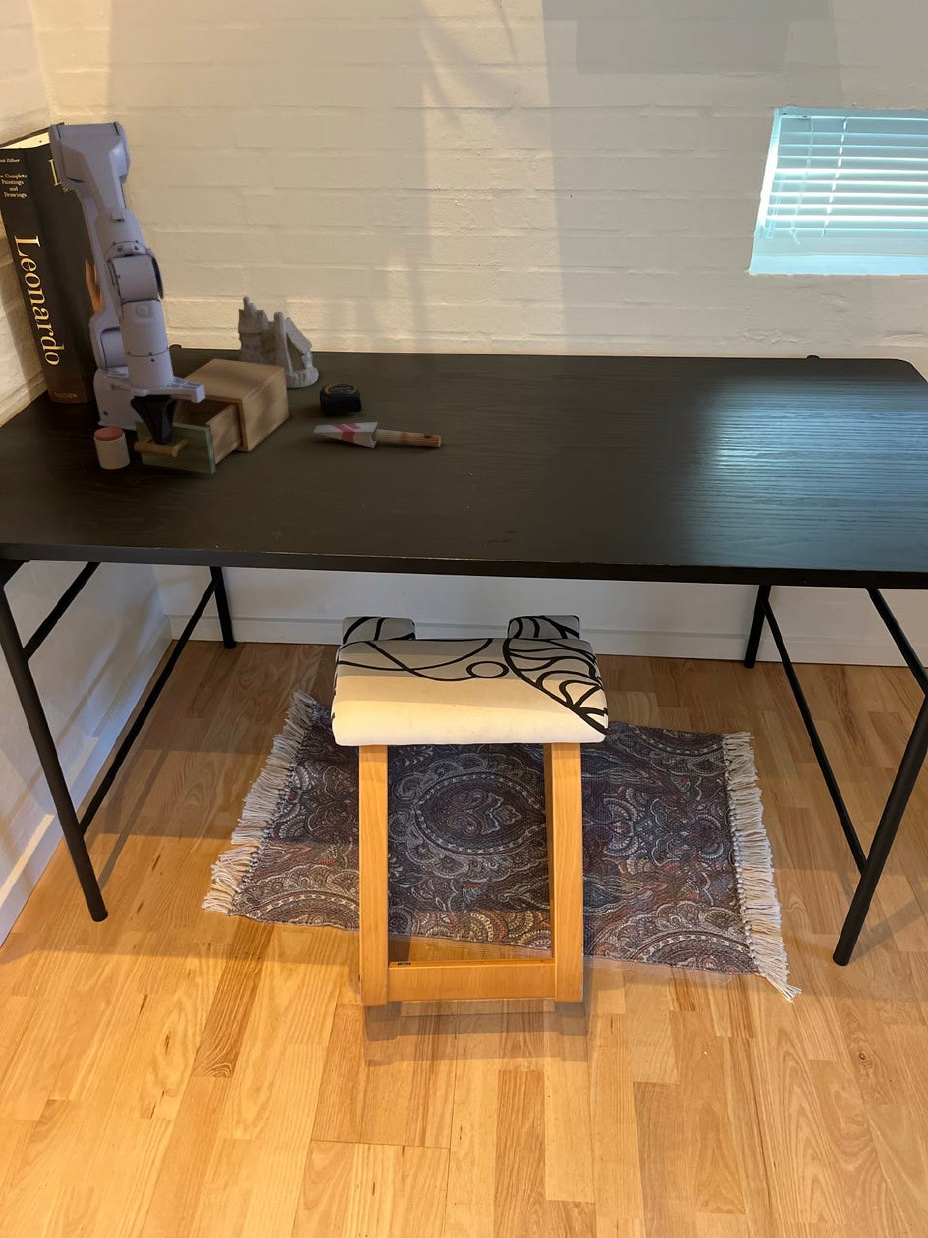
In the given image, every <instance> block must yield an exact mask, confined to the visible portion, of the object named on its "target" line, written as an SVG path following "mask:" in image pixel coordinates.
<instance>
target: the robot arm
mask: <svg viewBox="0 0 928 1238" xmlns="http://www.w3.org/2000/svg"><path fill="white" fill-rule="evenodd" d="M49 125H50V126H49V128H48V129H47V135H48V141H49V147H50V151H51V155H52V159H53V164H54V167H55V171H56V176H57V179H58V181H59V182H60V185H61V187H63V188H66V189H69V190H72V191H74V192H75V194H76V196H77V198H78V200H79V201H80V204H81V207H82V212H83V217H84V222H85V225H86V231H87V236H88V239H89V244H90V249H91V255H92V259H93V264H94V268H95V273H96V277H97V283H98V287H99V291H100V296H101V300H102V301H101V302H102V305H101V307H100V308H99V309H97V311H96V312H95V313H94V314H93V315H92V316H91V317H90V319H89V322H88V328H89V329H88V330H89V338H90V343H91V348H92V352H93V357H94V360H95V364H96V366H97V369H96V371H95V373H94V376H93V383H92V384H93V392H94V396H95V399H96V400H95V401H96V405H97V410H98V414H99V415H98V416H99V419H100V420H99V421H98V422H97V424H98V426H99V427H118V428H121V429H122V430H126V431H127V430H128V431H135V432H137V430H136V425H135V420H137V419H138V418H142V420H143V421H144V423H145V424H146V426H147V428H148V430H149V432H150V434H151V436H152V438H153V440H154V442H155V444H157V445H164V446H166V445H167V444H168V443H170V442H171V435H172V425H173V419H174V415H175V411H176V408H177V405H178V403H179V400H180V399H187V400H191V401H192V402H194V403H199V402H200V401H202V400H203V399H204V398H205V393H204V387H203V385H202V384H196V383H192V382H189V381H186V380H184V378H181V377H178V376H174V372H173V367H172V360H171V354H170V349H169V342H168V337H167V335H168V334H167V330H166V324H165V317H164V312H163V305H162V301H163V300H164V297H165V296H164V281H163V275H162V271H161V268H160V265H159V262H158V260H157V257H156V254H155V253H154V252H153V251H152V248H151V247H148V245H147V242H146V240H145V239H146V238H145V236H144V233H143V230H142V227H141V224H140V221H139V218H138V217H137V215H136V214H135V213H134V212H133V211H131V210H129V209H127V208H126V205H125V199H124V194H123V191H122V185H123V184H125V183H126V182H127V179H128V176H129V173H130V168H131V154H130V146H129V142H128V137H127V134H126V131H125V128H124V127H123V125H122V124H120V122H119V121H117V120H115V121H113V122H103V123H102V122H100V123H81V124H60V125H59V124H57V125H56V124H55V123H52V124H49Z"/></svg>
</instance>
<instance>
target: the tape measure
mask: <svg viewBox="0 0 928 1238" xmlns="http://www.w3.org/2000/svg"><path fill="white" fill-rule="evenodd" d="M319 406H320V411H322V413H324V414H331V415H332V414H333V415H334V414H337V415H344V414H349V413H350V414H351V413H361V412H362V409H363V407H362V399H361V393H360V391H359V388H358V387H357V386H355V385H353V384H351V383H345V382H343V383H341V382H339V383H331V384H328V385H325V386H323V387H322V388H321V390H320V391H319Z"/></svg>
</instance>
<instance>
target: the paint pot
mask: <svg viewBox="0 0 928 1238" xmlns="http://www.w3.org/2000/svg"><path fill="white" fill-rule="evenodd" d="M93 434H94V436H93V442H94V446H95V450H96V455H97V459H98V464H99V466H100V468H103V469H104V470H117V469H122V468H125V467H127V466H128V465H129V464H130V463H131V458H130V453H129V448H128V444H127V438H126V433H125V432H124V429H121V428H118V427H106V426H104V427H103V428H99V429H97V430H96V431H95V432H94V433H93Z"/></svg>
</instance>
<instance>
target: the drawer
mask: <svg viewBox="0 0 928 1238" xmlns="http://www.w3.org/2000/svg"><path fill="white" fill-rule="evenodd" d="M238 404H239V403H232V402H224V401H216V400H209V399H203V400H202V401H200V402H199V403H194V402H192V401H191V400H187V399H180V400H179V403H178V405H177V408H176V411H175V415H174V419H173V425H172V435H171V442H170V443H168V444H167V445H166V446H164V445H157V444H155V442H154V440H153V438H152V436H151V434H150V432H149V430H148V428H147V426H146V424H145V423H144V421H143V420H142V418H138V419H137V420H135V425H136V430H137V431H136V435H137V440H138V441H136V442H135V443H134V446H133V447H134V451H135V452H138V453H140V455H141V460H142V464H143V465H149V466H157V467H162V468H170V469H177V470H183V471H190V472H195V473H203V474H208V475H209V474H210V475H213V474H214V473H215V472H216V465H217V464H218V463H219V462H220V461H221V460H223V459H224V458H225V457H227V456H228V454H230V453H231V452H232V451H234V450H233V449H235V448H236V447H237V446H238V445H239V444H240V443H242V442H243V436H242V429H241V421H240V413H239V405H238Z"/></svg>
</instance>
